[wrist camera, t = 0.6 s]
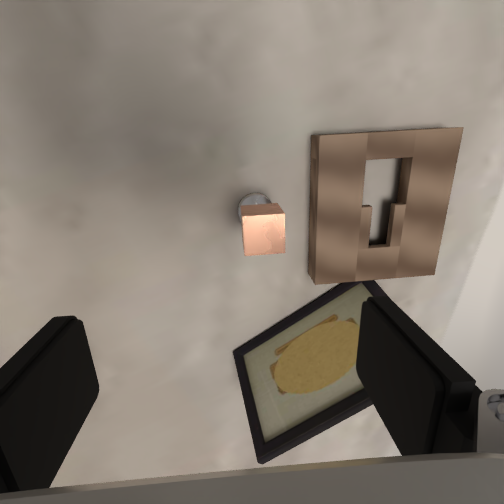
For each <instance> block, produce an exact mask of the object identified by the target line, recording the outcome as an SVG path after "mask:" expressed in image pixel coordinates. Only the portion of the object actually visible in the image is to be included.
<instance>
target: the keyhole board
mask: <svg viewBox="0 0 504 504" xmlns="http://www.w3.org/2000/svg"><path fill="white" fill-rule="evenodd" d="M463 128H464V127H456V128H429V129H411V130H394V131H376V132H359V133H341V134H324V135H311V169H310V216H309V263H308V273H309V275H310V277H311V279H312V280H313V282H314V284H315V285H318V284H330V283H342V282H354V281H366V280H378V279H390V278H402V277H414V276H426V275H434V274H435V269H436V264H437V259H438V254H439V249H440V244H441V239H442V234H443V229H444V224H445V219H446V214H447V209H448V204H449V199H450V194H451V188H452V183H453V178H454V173H455V168H456V163H457V158H458V153H459V148H460V143H461V138H462V133H463ZM389 158H402V165H401V172H400V180H399V188H398V195H397V203H391V209H390V217H389V225H388V233H387V241H386V244H380V245H369V235H370V226H371V216H372V206H370V205H362V198H363V187H364V175H365V164H366V160H373V159H389Z"/></svg>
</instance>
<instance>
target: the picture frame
mask: <svg viewBox="0 0 504 504" xmlns="http://www.w3.org/2000/svg"><path fill="white" fill-rule="evenodd" d="M371 296H387V294H386V293H385V292H384V291H383V290H382V289H381V287H380V286H379V285H378V284H377V283H376V282H375V281H374V280H366V281H354V282H344V283H342V284H341V285H339V286H338V287H336V288H334V289H333V290H331V291H330V292H328V293H326V294H325V295H323V296H322V297H320V298H318V299H317V300H315V301H314V302H312V303H310V304H309V305H307V306H306V307H304V308H302V309H301V310H299V311H298V312H296V313H295V314H293V315H291V316H290V317H288V318H287V319H285V320H283V321H282V322H280V323H279V324H277V325H275V326H274V327H272V328H271V329H269V330H267V331H266V332H264V333H263V334H261V335H259V336H258V337H256V338H255V339H253V340H252V341H250V342H248V343H247V344H245V345H244V346H242V347H240V348H239V349H237V350H236V351H234V352H233V355H234V359H235V364H236V368H237V372H238V377H239V381H240V386H241V390H242V395H243V399H244V404H245V408H246V413H247V417H248V421H249V426H250V430H251V435H252V439H253V444H254V448H255V453H256V457H257V462H258V463H260V464H264V463H266V462H268V461H270V460H272V459H273V458H275V457H277V456H279V455H281V454H283V453H284V452H286V451H288V450H290V449H292V448H294V447H296V446H297V445H299V444H301V443H303V442H305V441H307V440H308V439H310V438H312V437H314V436H316V435H318V434H319V433H321V432H323V431H325V430H327V429H329V428H330V427H332V426H334V425H336V424H338V423H340V422H341V421H343V420H345V419H347V418H349V417H351V416H352V415H354V414H356V413H358V412H360V411H362V410H363V409H365V408H367V407H369V406H371V405H373V402H372V401H371V399H370V397H369V395H368V393H367V392H366V390H365V388H364V386H363V384H362V383H361V381H360V379H359V377H358V375H357V371H356V358H357V348H358V338H359V328H360V318H361V308H362V303H363V302H364V301H367V298H368V297H371ZM387 297H388V296H387Z"/></svg>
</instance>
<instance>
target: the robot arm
mask: <svg viewBox="0 0 504 504" xmlns="http://www.w3.org/2000/svg"><path fill="white" fill-rule="evenodd" d="M356 371H357V375H358V377H359V379H360V381H361V383H362V384H363V386H364V388H365V390H366V392H367V393H368V395H369V397H370V399H371V401H372V402H373V404H374V406H375V408H376V410H377V412H378V413H379V415H380V417H381V419H382V421H383V422H384V424H385V426H386V428H387V430H388V431H389V433H390V435H391V437H392V439H393V440H394V442H395V444H396V446H397V448H398V449H399V451H400V453H401V455H402V456H393V457H379V458H367V459H355V460H344V461H332V462H321V463H309V464H297V465H286V466H274V467H264V468H253V469H242V470H231V471H220V472H209V473H199V474H188V475H177V476H167V477H156V478H145V479H135V480H125V481H115V482H105V483H95V484H85V485H75V486H65V487H55V488H49V487H50V485H51V483H52V481H53V480H54V478H55V476H56V474H57V472H58V470H59V468H60V466H61V465H62V463H63V461H64V459H65V457H66V455H67V453H68V451H69V449H70V448H71V446H72V444H73V442H74V440H75V438H76V436H77V434H78V433H79V431H80V429H81V427H82V425H83V423H84V421H85V419H86V417H87V416H88V414H89V412H90V410H91V408H92V406H93V404H94V402H95V401H96V399H97V396H98V393H99V383H98V379H97V375H96V371H95V367H94V364H93V360H92V356H91V352H90V348H89V344H88V340H87V336H86V333H85V329H84V325H83V322H82V321H81V320H78V319H77V318H76V317H75V316H59V317H54V318H52V319H51V320H50V321H49V322H48V323H47V324H46V325H45V326H44V327H43V328H42V329H41V330H40V331H38V332H37V333H36V334H35V335H34V336H33V337H32V338H31V339H30V340H29V341H28V342H27V343H26V344H25V345H24V346H23V347H22V348H21V349H20V350H19V351H18V352H17V353H16V354H15V355H14V356H13V357H12V358H10V359H9V360H8V361H7V362H6V363H5V364H4V365H3V366H2V367H1V368H0V504H504V390H501V389H491V390H486V391H484V392H482V391H481V390H480V389H479V388H478V387H477V386H476V385H475V383H476V381H475V379H473V378H472V377H471V376H470V375H469V374H468V373H467V372H466V371H465V370H464V369H463V368H462V367H461V366H460V365H459V364H458V363H457V362H456V361H455V360H454V359H453V358H452V357H450V356H449V355H448V354H447V353H446V352H445V351H444V350H443V349H442V348H441V347H440V346H439V345H438V344H437V343H436V342H435V341H434V340H433V339H432V338H431V337H430V336H428V335H427V334H426V333H425V332H424V331H423V330H422V329H421V328H420V327H419V326H418V325H417V324H416V323H415V322H414V321H413V320H412V319H411V318H410V317H409V316H408V315H407V314H405V313H404V312H403V311H402V310H401V309H400V308H399V307H398V306H397V305H396V304H395V303H394V302H393V301H392V300H391V299H390V298H389V297H387V296H371V297H368V298H367V301H364V302H363V303H362V308H361V318H360V328H359V338H358V348H357V358H356Z"/></svg>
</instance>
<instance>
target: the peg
mask: <svg viewBox="0 0 504 504" xmlns="http://www.w3.org/2000/svg"><path fill="white" fill-rule="evenodd" d="M238 215H239V219H240V221H241V223H242V238H243V246H244V253H245V256H252V255H265V254H278V253H285V213H284V212H283V210H282V209H281V208H280V206H279V205H278V203H271V201H270V200H269V198H268V197H266V196H265V195H263V194H261V193H250V194H248V195H246V196H245V197H244V198H243V199H242V200H241V201H240V203H239V206H238Z"/></svg>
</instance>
